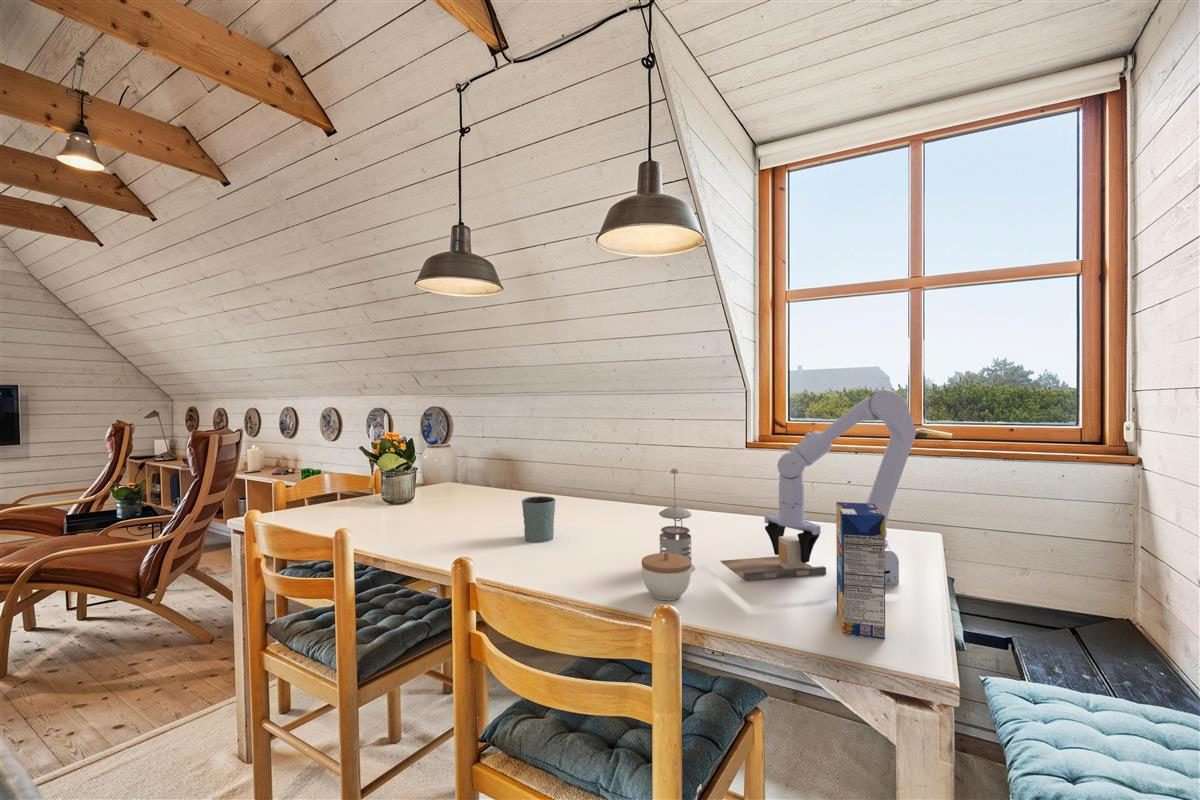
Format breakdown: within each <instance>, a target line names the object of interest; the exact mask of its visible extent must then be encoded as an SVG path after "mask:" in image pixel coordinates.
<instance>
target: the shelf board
mask: <svg viewBox="0 0 1200 800" xmlns="http://www.w3.org/2000/svg"><path fill="white" fill-rule="evenodd" d="M719 562H720V563H721V564H723V565H724V566H725V567H727V568H729V570H731V571H732V572H733V573H735V574H736V575H737V576H738V577H740V578H741V579H742V580H743V581H745V582H750V581H764V580H775V579H787V578H788V579H790V578H799V577H802V578H803V577H812V576H813V577H814V576H824V575H827V567H826V566H824V565H822V566H821V565H818V566H812V565H810V564H808V562H806V563H805V568H794V569H785V568H783V567H782V566H780V565H779V555H776V556H766V557H751V558H739V559H726V560H719Z"/></svg>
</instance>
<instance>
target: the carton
mask: <svg viewBox="0 0 1200 800" xmlns="http://www.w3.org/2000/svg"><path fill="white" fill-rule="evenodd" d="M778 556H779V565H780V566H782V567H783V568H785V569H794V568H805V563H802V562H801V549H800V543H799V539H798V536H797V535H783V536H780V537H779V555H778Z"/></svg>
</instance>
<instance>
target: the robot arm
mask: <svg viewBox="0 0 1200 800" xmlns="http://www.w3.org/2000/svg"><path fill="white" fill-rule="evenodd" d="M873 414H874V415H875V416H876V417H878V418H879V419H880V420H881V421H882V422H883V423H884V425H885V426H886V428H887V429H888V431H889V432H890V437H889V440H888V443H887V446H886V448H885V452H884V454H883V456H882V460H881V463H880V466H879V468H878V471H877V474H876V476H875V480H874V481H873V485H872V487H871V491H870V493H869V495H868V499H867V501H866V503H870V504H875V505H876V506H877V508H878V509H879V510H880V511H881V512H882V514H883V515H884V516H885V586H890V585H892V586H893V585H899V584H900V574H899V573H900V570H899V569H900V561H899V557H898V555H897V554H896V552H894V551H892V550H891V548H890V546H889V541H888V539H887V527H886V524H887V521H888V518H889V513H890V508H891V505H892V502H893V500H894V498H895V497H894V496H895V494H896V491H897V488H898V486H899V483H900V480H901V477H902V474H903V471H904V469H905V466H906V464H907V460H908V458H909V454H910V452H911V449H912V447H913V444H914V441H915V438H916V435H917V430H916V427H915V423H914V422H913V418H912V416H911V412H910V409H909V405H908V404H907V403H906V402H905V400H904V399H903V397H902V396H901V395H900V394H899V393H897V392H896V391H893V390H890V389H880V390H877V391H875V392H874V393H873V395H872V396H868V397H866V398H865V399H862V401H860V402H858V403H856V404H854V405H853V406H852V407H851V408H850V409H848V410H847V411H846V412H845V413H843V414H842V415H841V416H840V417H838V418H837V419H836V420H835V421H834V422H833V423H831V424H830V425H829V426H828V427H827V428H826V429H824V430H823V431H817V430H814V431H812V432H811V433H810V432H807V433H806V434H805V435H804V436H803V437H804V438H803V439H802V440H801V441H800V442H798V443H797V444H796V445H795V446H790V447H789V448H788V450H789V452H786V453H783V455H781V457H780V458H779V459H778V461H777V470H778V472H779V476H778V479H779V482H778V515H776V514H775V515H774V514H770V513H769V514H766V515H765V514H764V523H765V524H767V525H765V527H764V530H765V532H766V533H767V535H768V537H769V539H770V542H771V545H772V548H773V553H774V555H775V556H779V537H780V536H785V535H784V534H785V531H786V528H789V529H793V530H797V531H799V533H797V535H796V536H797V537H798V539H799V543H800V549H801V562H802V563H808V562H810V560H811V555H812V551H813V548H814V546H815V544H816V542H817V540H818V539H819V537H820V534H821V525H819V524H815V523H813V522H810V521H808V520H805V486H804V485H805V484H804V478H803V477H804V475H803V474H804V473H803V472H804V470H805V468H806V467H810V466H812V465H813V464H815V463H816V462H817V461H818V460H820V459H821V458H823V457H824V456H825V455H827V453H829V452H830V451H832V444H833V443H832V442H834V441H835V440H836V439H837V438H839V437H840V436H842V435H843V434H845V433H846V432H847V431H848V430H850V429H851V428H852V427H854V426H855V425H857V424H858V423H859V422H864V421H869V420H874V415H873Z"/></svg>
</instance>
